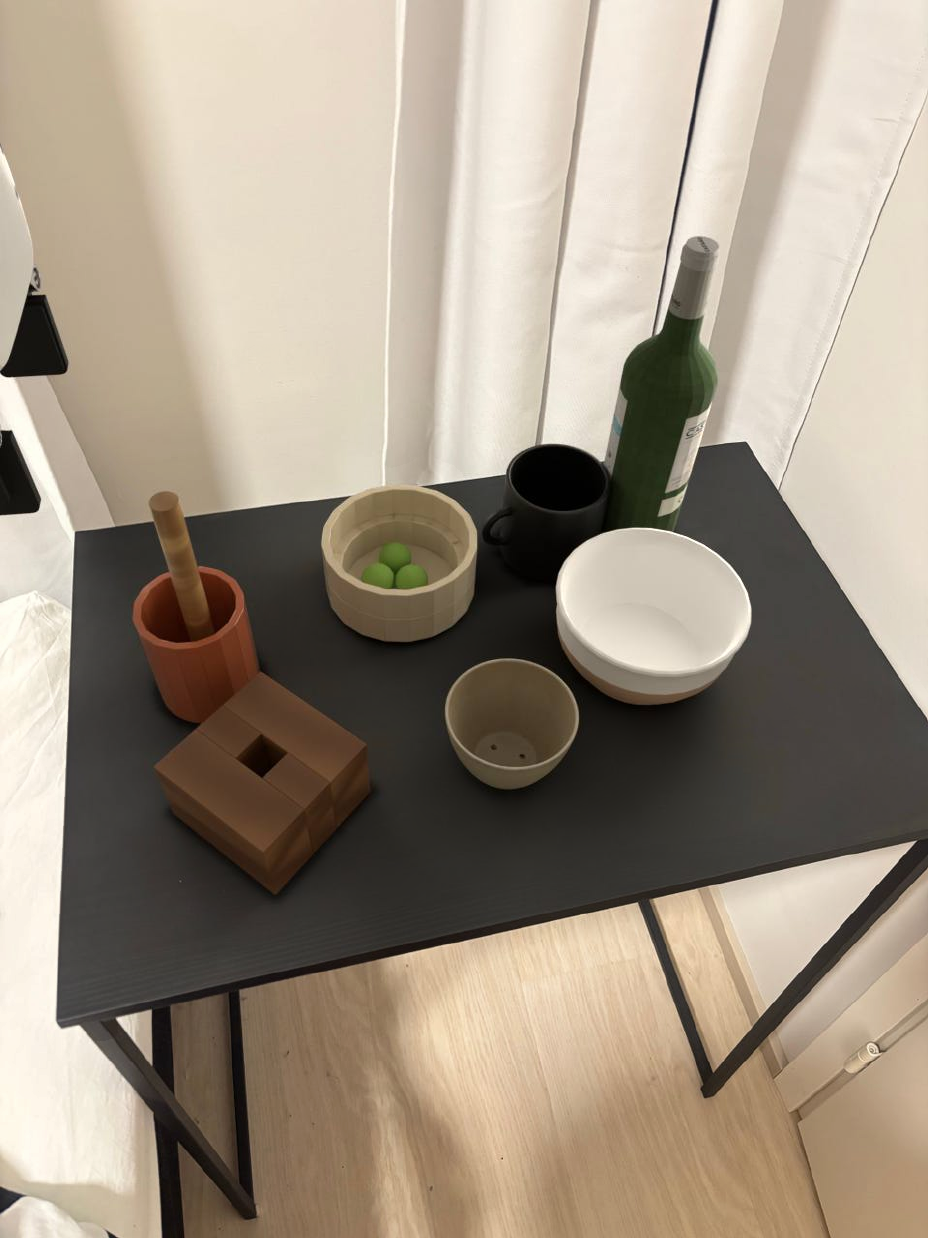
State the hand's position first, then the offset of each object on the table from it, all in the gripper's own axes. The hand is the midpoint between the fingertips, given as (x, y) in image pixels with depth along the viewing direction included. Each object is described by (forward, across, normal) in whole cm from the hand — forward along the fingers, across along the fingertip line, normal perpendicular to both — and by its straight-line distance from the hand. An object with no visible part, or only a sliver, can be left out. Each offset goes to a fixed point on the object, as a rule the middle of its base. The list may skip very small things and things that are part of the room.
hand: (20, 436), depth 42 cm
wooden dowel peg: (+36, -12, +2) cm, 38 cm away
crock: (+36, -12, +2) cm, 38 cm away
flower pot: (+36, -1, +26) cm, 45 cm away
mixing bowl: (+36, -20, +19) cm, 46 cm away
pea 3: (+34, -20, +20) cm, 44 cm away
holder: (+36, 0, +7) cm, 37 cm away
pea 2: (+34, -22, +19) cm, 45 cm away
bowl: (+36, -11, +39) cm, 54 cm away
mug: (+36, -24, +32) cm, 54 cm away
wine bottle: (+36, -25, +42) cm, 61 cm away
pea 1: (+34, -20, +17) cm, 43 cm away
